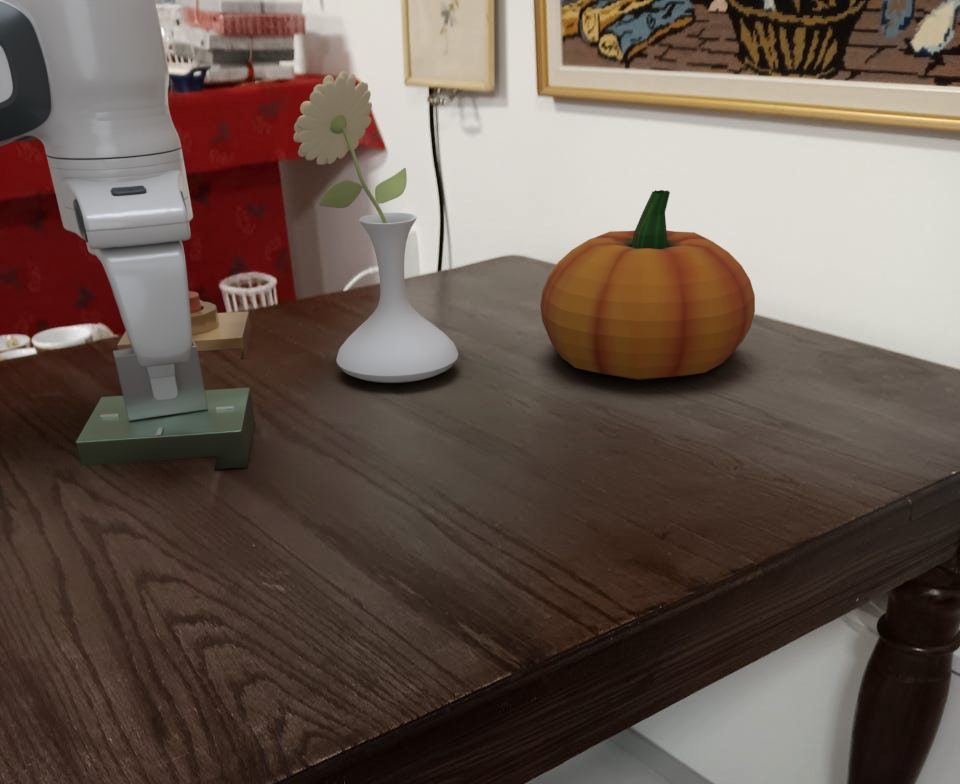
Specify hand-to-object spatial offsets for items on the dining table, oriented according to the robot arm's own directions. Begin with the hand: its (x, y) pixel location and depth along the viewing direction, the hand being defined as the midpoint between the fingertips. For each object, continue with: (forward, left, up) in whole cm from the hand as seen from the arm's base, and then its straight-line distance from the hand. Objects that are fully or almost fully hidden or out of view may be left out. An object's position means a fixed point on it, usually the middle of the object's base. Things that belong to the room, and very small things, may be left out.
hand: (163, 391), depth 76 cm
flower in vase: (+18, +15, -5) cm, 24 cm away
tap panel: (0, 0, -5) cm, 5 cm away
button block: (-2, +28, -5) cm, 28 cm away
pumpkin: (+42, +14, -5) cm, 45 cm away
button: (-2, +28, -1) cm, 28 cm away
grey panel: (0, 0, -2) cm, 2 cm away
